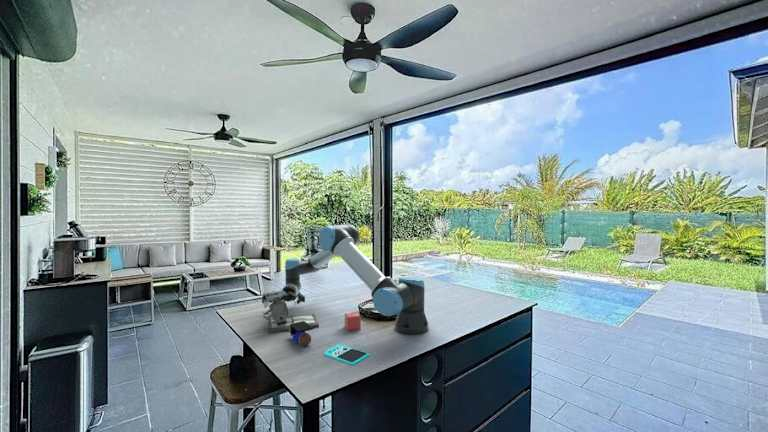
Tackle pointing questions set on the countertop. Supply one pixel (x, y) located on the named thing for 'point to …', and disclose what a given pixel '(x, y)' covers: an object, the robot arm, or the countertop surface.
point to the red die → (352, 321)
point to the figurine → (276, 306)
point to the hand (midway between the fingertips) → (279, 304)
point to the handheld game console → (346, 354)
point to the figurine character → (300, 332)
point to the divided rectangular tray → (307, 318)
